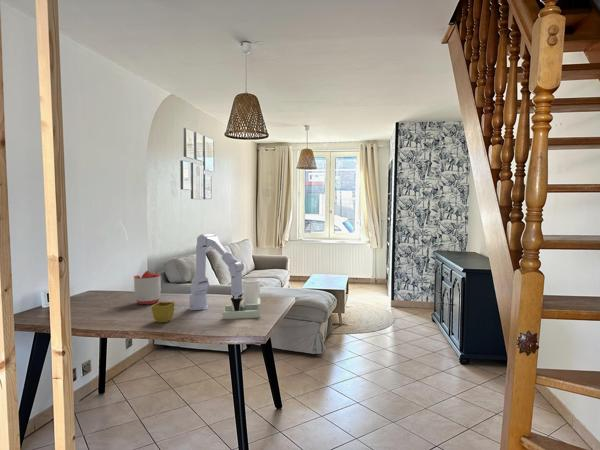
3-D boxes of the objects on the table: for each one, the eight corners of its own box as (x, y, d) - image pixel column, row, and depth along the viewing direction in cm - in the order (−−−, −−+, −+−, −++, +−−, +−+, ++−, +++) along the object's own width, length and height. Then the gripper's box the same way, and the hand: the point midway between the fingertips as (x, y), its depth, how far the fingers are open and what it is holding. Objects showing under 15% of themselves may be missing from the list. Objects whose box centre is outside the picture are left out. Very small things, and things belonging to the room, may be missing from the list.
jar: (261, 302, 241) (261, 278, 240) (258, 307, 230) (257, 281, 230) (244, 302, 242) (244, 278, 241) (240, 306, 231) (239, 281, 231)
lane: (222, 318, 206) (222, 305, 206) (225, 311, 221) (225, 299, 221) (260, 317, 208) (260, 304, 208) (260, 310, 223) (260, 297, 223)
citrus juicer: (154, 298, 257) (153, 267, 256) (165, 302, 245) (164, 270, 244) (129, 302, 247) (128, 270, 246) (140, 307, 234) (139, 273, 233)
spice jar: (231, 316, 211) (231, 299, 211) (232, 313, 217) (232, 296, 217) (242, 315, 212) (242, 298, 211) (243, 313, 218) (242, 296, 217)
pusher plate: (242, 316, 209) (241, 307, 209) (243, 311, 220) (242, 302, 220) (245, 316, 209) (244, 307, 209) (245, 311, 220) (245, 302, 220)
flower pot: (151, 323, 200) (150, 305, 200) (159, 318, 209) (159, 301, 208) (167, 323, 199) (167, 306, 198) (175, 319, 208) (175, 302, 207)
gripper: (243, 286, 207) (244, 312, 207) (244, 281, 221) (245, 305, 222) (229, 287, 206) (230, 312, 207) (231, 281, 221) (232, 306, 221)
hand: (237, 309), depth 214 cm, fingers open, 7 cm apart
